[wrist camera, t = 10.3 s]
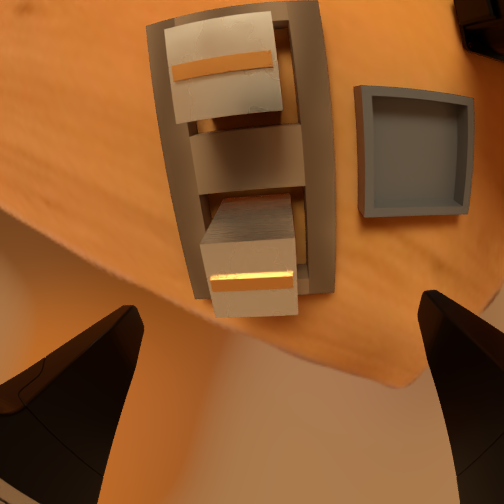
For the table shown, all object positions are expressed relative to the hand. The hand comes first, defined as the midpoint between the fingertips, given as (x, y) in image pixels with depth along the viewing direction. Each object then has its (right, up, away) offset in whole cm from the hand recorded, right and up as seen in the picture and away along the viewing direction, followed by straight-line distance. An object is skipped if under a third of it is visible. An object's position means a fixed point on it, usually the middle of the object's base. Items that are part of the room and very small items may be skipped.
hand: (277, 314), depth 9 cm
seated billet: (-1, +12, +8) cm, 15 cm away
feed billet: (0, +4, +12) cm, 13 cm away
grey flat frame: (-1, +8, +10) cm, 13 cm away
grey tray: (+10, +9, +9) cm, 16 cm away
